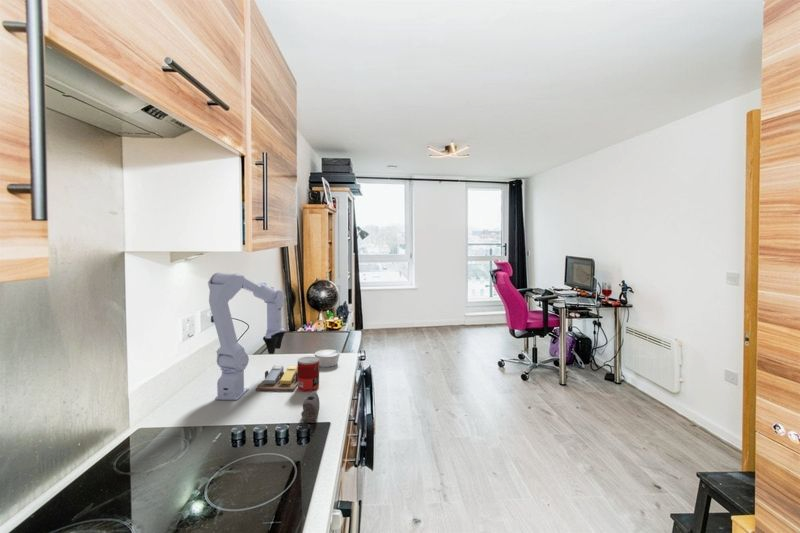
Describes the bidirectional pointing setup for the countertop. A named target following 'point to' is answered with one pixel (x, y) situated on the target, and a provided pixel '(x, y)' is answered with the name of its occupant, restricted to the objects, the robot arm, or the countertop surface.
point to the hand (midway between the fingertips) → (274, 351)
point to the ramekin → (327, 357)
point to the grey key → (273, 374)
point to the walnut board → (278, 384)
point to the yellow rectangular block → (289, 375)
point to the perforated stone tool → (310, 407)
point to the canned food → (308, 373)
